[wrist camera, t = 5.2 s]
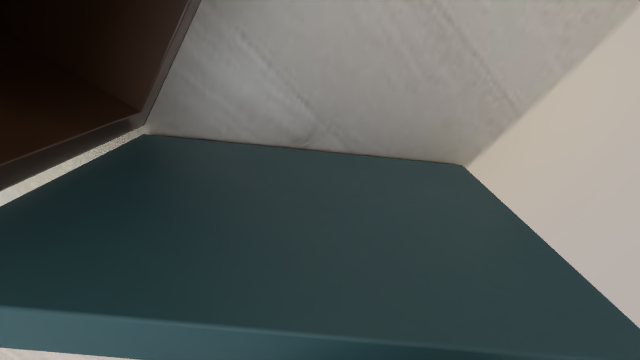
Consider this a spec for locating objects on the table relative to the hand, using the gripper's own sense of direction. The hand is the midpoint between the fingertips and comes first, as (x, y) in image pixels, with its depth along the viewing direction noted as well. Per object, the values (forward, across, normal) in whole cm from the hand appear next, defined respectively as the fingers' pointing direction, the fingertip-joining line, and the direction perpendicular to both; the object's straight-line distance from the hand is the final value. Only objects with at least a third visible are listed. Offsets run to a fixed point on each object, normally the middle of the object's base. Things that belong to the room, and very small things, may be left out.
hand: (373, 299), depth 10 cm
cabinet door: (+4, +3, 0) cm, 5 cm away
